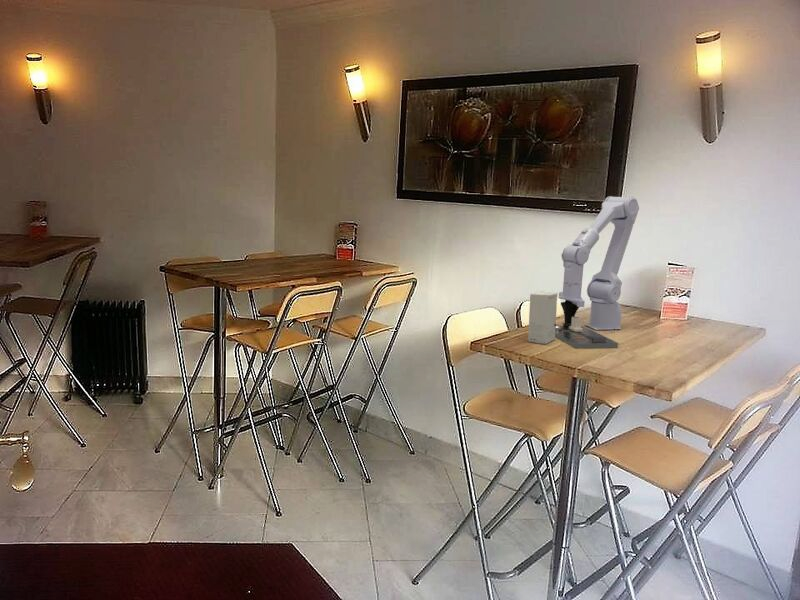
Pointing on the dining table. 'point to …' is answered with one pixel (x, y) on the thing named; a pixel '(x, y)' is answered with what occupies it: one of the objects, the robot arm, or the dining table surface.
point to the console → (583, 338)
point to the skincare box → (542, 317)
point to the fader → (576, 324)
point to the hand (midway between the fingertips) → (569, 324)
